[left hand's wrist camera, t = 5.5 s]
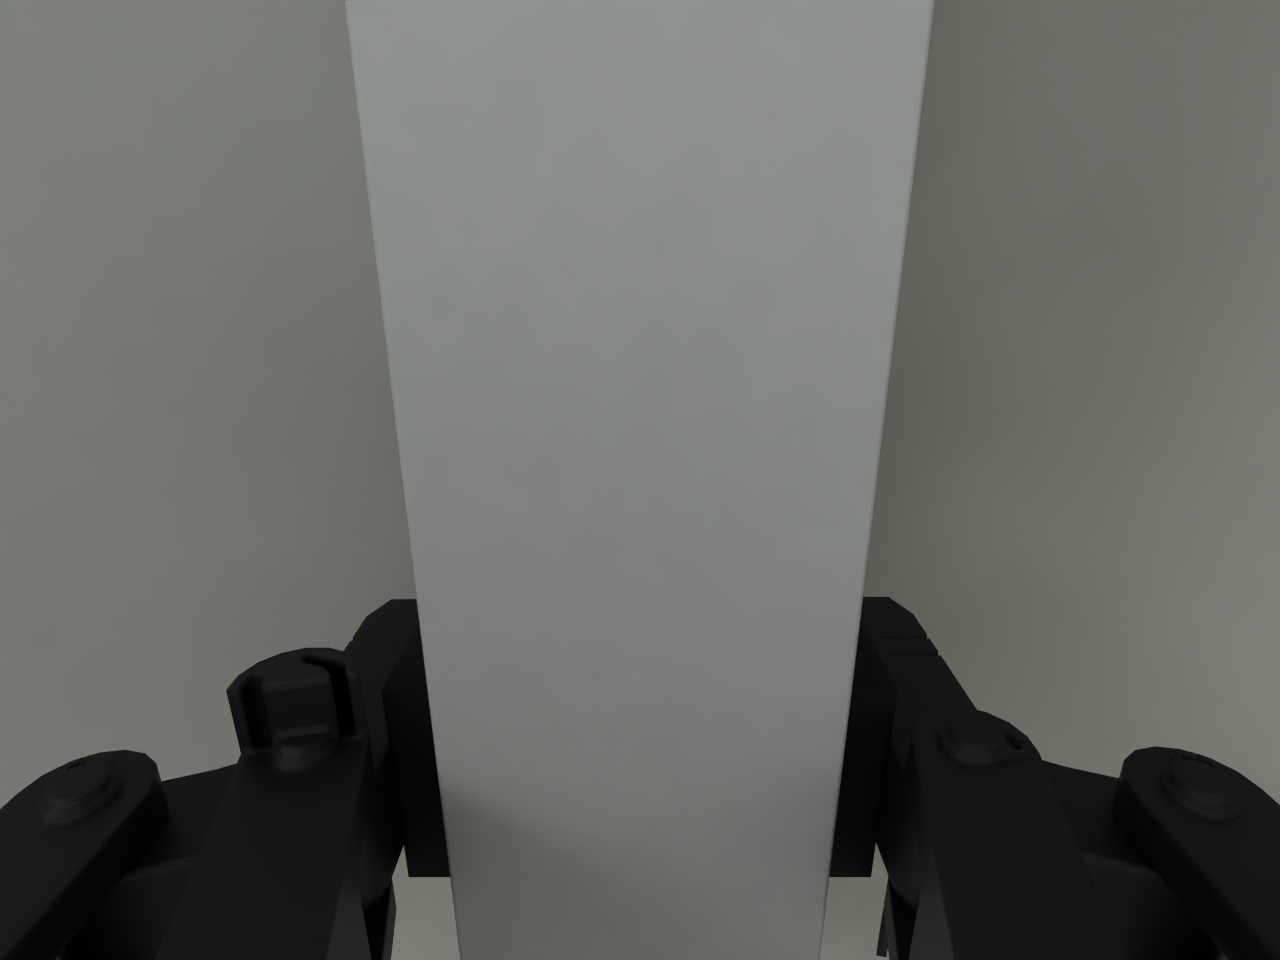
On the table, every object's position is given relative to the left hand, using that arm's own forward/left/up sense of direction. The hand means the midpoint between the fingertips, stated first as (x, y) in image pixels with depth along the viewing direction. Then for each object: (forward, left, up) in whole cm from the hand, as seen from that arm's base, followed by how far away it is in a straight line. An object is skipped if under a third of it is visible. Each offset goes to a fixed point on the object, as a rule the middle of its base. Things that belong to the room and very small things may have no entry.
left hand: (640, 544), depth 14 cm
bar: (+7, +21, -1) cm, 22 cm away
